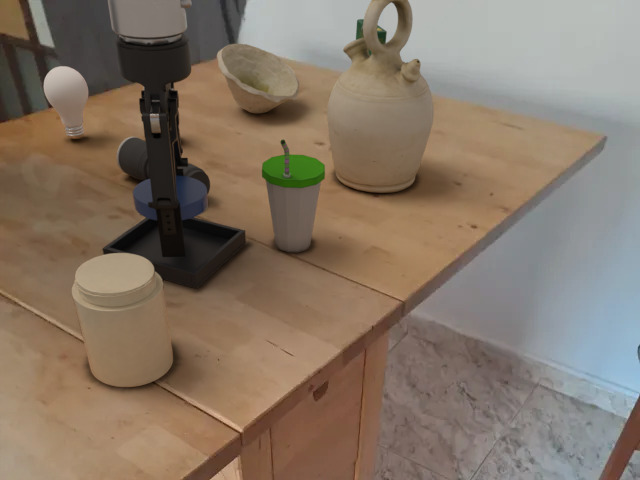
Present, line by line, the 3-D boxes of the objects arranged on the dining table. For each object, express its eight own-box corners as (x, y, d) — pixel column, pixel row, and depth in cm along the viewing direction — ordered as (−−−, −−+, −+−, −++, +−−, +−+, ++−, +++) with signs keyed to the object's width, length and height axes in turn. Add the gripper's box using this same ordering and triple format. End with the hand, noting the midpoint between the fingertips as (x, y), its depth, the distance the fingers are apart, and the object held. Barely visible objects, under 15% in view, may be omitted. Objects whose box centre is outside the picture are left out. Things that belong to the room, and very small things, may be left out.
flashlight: (215, 200, 99) (212, 163, 95) (186, 212, 96) (182, 174, 92) (148, 168, 106) (144, 132, 102) (119, 178, 103) (113, 141, 99)
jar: (72, 372, 69) (48, 282, 62) (122, 329, 75) (105, 242, 68) (142, 396, 67) (125, 305, 60) (188, 350, 73) (178, 262, 66)
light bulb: (90, 129, 117) (76, 58, 109) (102, 142, 113) (89, 70, 105) (50, 135, 114) (33, 63, 106) (61, 149, 110) (45, 75, 102)
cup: (295, 224, 94) (296, 110, 84) (334, 246, 90) (341, 129, 80) (250, 242, 90) (246, 124, 80) (290, 265, 86) (290, 145, 76)
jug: (311, 163, 110) (315, -21, 92) (399, 153, 114) (419, -25, 97) (346, 204, 99) (358, 6, 82) (441, 191, 103) (472, 0, 86)
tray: (105, 262, 85) (102, 248, 84) (160, 222, 93) (158, 208, 92) (196, 288, 81) (195, 274, 80) (246, 244, 90) (245, 230, 88)
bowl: (267, 131, 119) (266, 69, 112) (204, 114, 124) (199, 53, 117) (314, 108, 128) (315, 48, 121) (253, 92, 133) (251, 34, 126)
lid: (221, 198, 85) (220, 184, 83) (183, 228, 79) (181, 213, 78) (161, 183, 87) (160, 169, 86) (120, 211, 81) (117, 196, 80)
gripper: (183, 65, 63) (204, 281, 78) (191, 9, 78) (207, 198, 94) (100, 65, 62) (137, 282, 78) (124, 8, 78) (151, 199, 93)
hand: (176, 236), depth 86 cm, fingers closed on lid, 9 cm apart
